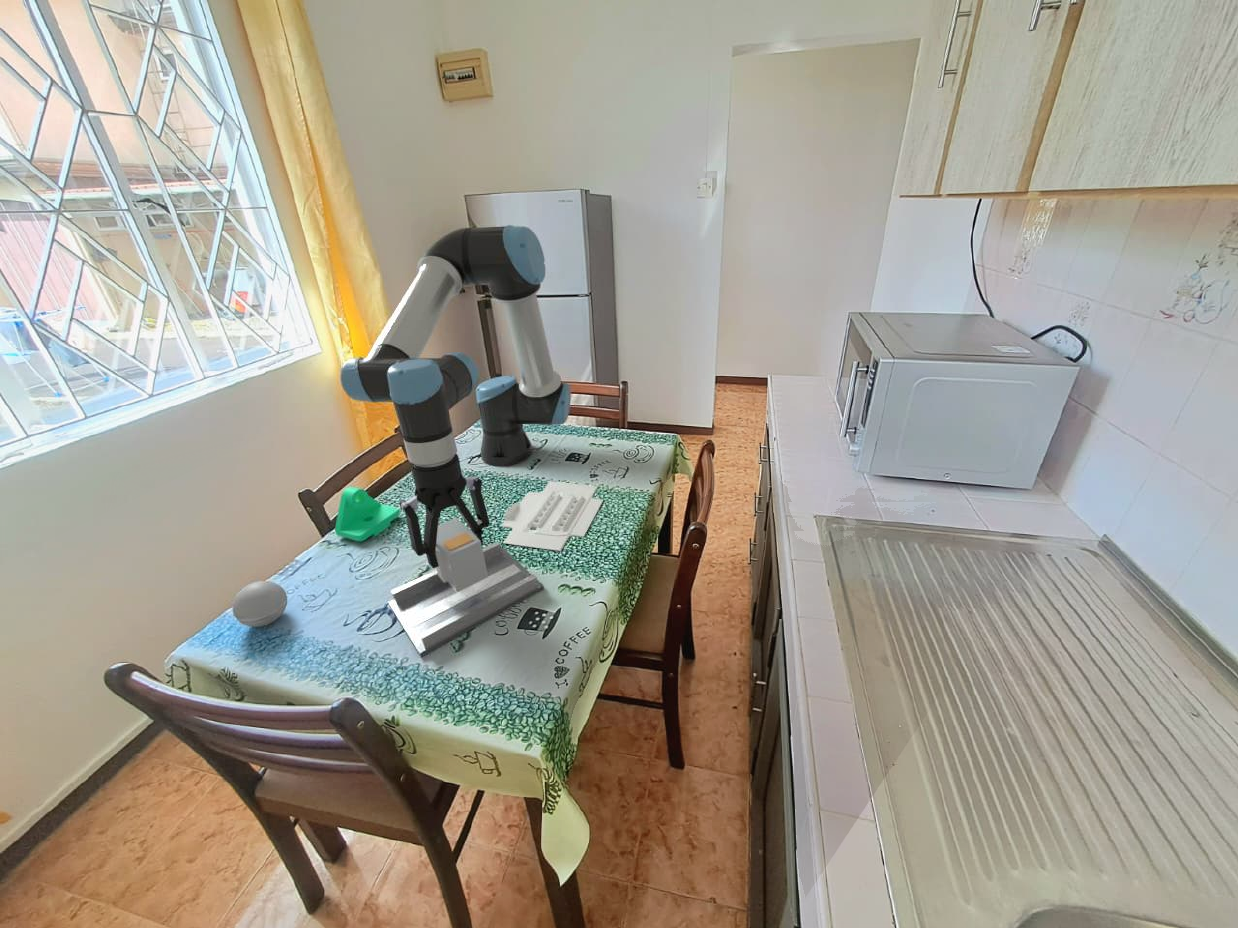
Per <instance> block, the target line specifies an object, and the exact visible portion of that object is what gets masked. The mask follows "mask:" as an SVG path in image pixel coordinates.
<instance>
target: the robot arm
mask: <svg viewBox="0 0 1238 928" xmlns="http://www.w3.org/2000/svg"><path fill="white" fill-rule="evenodd" d="M545 260H546V259H545V255H544V252H543V247H542V245H541V242H540V239H539V238H538V236H537V234H536V233H535V232H534V231H533V230H532V229H531V228H529V227H527V226H522V225H521V226H514V225H510V224H508V225H506V226H505V225H503V226H486V227H482V226H481V227H462V228H459V229H455V230H453V231H450V232H449V233H447V234H445V235H443V236H442V237H440V239H438V240H437V241H435V242H434V243H433V244H432V245H431V246H430V247H429V248H428V249H427V250H426V251H425V252H424V254H423V255H422V256H421V258H420V259H419V260H418V262H417V265H416V267H415V268H416V269H415V272H416V276H415V277H414V279H413V281H412V283H411V285H410V286H409V287H408V289H407V291H406V293H405V294H404V296H402V299H401V301H400V302H399V303H398V305H397V307H396V309H395V310H394V312H393V313H392V315H391V317H389V320H388V321H387V323H386V325H385V326H384V328H383V329H382V331H381V333H380V334H379V336H378V337H377V339H376V341H375V342H374V344H373V346H372V348H371V350H369V352H368V354H367V356H365V357H361V356H359V357H356V358H350V359H349V360H346V361H345V362H344V363H343V364H342V367H341V370H340V375H339V376H340V383H341V387H342V389H343V391H344V392H345V394H346V395H347V396H348V397H349V398H350V399H352V400H354V401H356V402H358V401H359V402H364V403H365V402H366V403H372V404H373V403H374V404H375V403H392V404H393V407H394V410H395V414H396V417H397V421H398V424H399V427H400V431H401V435H402V440H403V443H404V448H405V450H406V456H407V459H408V462H410V464H409V466H410V471H411V475H412V479H413V482H414V485H415V490H414V496H412V497H411V498H409V499H407V500H405V499H403V500H400V501H399V507H400V508H401V510H402V511H403V512H404V513H405V514H404V515H405V520H406V524H407V529H408V534H409V535H408V536H409V540H410V544H411V549H412V550H413V551H414V552H415V554H416V555H417V556H418V557H421V556H423V555H426V559H427V563H428V565H430V567H431V568H432V569H435V570H437V573H438V576H439V577H440V579H441V580H442V581H443V582H444V583H445V582H447V581H448V579H447V575H446V571H445V568H444V564H443V560H442V556H441V552H440V551H439V550H438V548H437V547H436V540H437V531H438V525H439V519H440V518H441V513H442V511H444V510H446V509H447V508H451V507H455V508H456V509H457V511H458V512H459V513H460V516H461V517H462V518H463V520H464V521H465V523H466V524H467V525H468V528H469V530H470V531H471V532H472V533H473V534H474V535H475V536H476V537H477V538H478V539H479V540H480V541H481V545H482V547H483V546H484V541H483V534H484V530H483V529H485V528H488V527H489V526H490V524H491V522H490V518H489V515H488V510H487V507H486V503H485V500H484V497H483V493H482V488H483V487H482V485H483V480H482V479H481V478H479V477H478V476H477V475H475V474H471V475H470V476H469V477H464V476H463V472H462V467H461V462H460V458H459V455H458V447H457V443H456V440H455V435H454V431H453V427H452V422H451V415H450V410H451V409H452V408H454V406H455V405H457V404H459V403H460V402H462V400H464V399H465V398H467V397H468V396H469V395H471V394H472V391H474V389H475V393H476V394H475V395H476V403H477V408H478V412H479V418H480V424H481V428H482V440H481V446H480V456H481V460H482V461H483V463H485V464H487V465H491V466H499V467H501V466H511V465H514V464H515V465H516V464H518V463H521V462H523V461H525V460H527V459H529V458H530V457H531V456H532V455H533V445H532V442H531V441H530V439H529V437H528V435H527V433H526V431H525V429H524V425H536V426H537V425H544V426H553V425H555V426H556V425H563V424H565V423H566V422H567V420H568V417H569V414H570V408H571V400H572V398H571V397H572V392H571V385H570V384H569V383H566V382H562V378H561V376H560V374H559V373H558V372H556V371H554V367H553V363H552V359H551V354H550V350H549V349H550V348H549V345H548V342H547V341H548V340H547V335H546V333H545V329H544V328H545V327H544V323H543V319H542V315H541V314H542V313H541V310H540V305H539V300H538V297H537V294H538V292H539V291H540V290H541V285H542V284H541V283H543V282H544V280H545V279H546V278H545V277H546V264H545ZM474 285H475V286H487V287H488V288H489V292H490V296H491V297H492V298H493V299H494V300H496V301H498V302H500V306H501V310H502V313H503V316H504V321H505V323H506V327H507V331H508V334H509V338H510V342H511V344H512V348H513V351H514V355H515V358H516V363H517V365H518V369H519V371H520V375H521V379H520V380H519V382H518V380H517V377H515V376H512V375H503V376H496V377H493V378H489V379H487V380H485V381H483V382H480V383H479V381H480V371H479V369H478V365H477V364H476V362H475V361H474V360H473V358H471V357H470V356H469V355H466V354H465V353H462V352H458V351H455V352H454V351H453V352H451V353H445V354H444V355H442V356H441V357H438V358H435V357H432V358H431V357H430V358H429V357H428V358H427V357H420V356H421V355H422V353H423V351H424V350H425V347H426V345H427V344H428V342H429V340H430V338H431V336H432V334H433V332H434V331H435V328H436V327H437V324H438V323H439V321H440V320H441V317H442V316H443V313H444V311H445V309H446V308H447V305H448V304H449V302H450V300H451V298H453V297H455V296H457V295H459V293H460V292H461V291H462V289H463V288H464V287H468V286H474ZM478 383H479V384H478ZM465 488H467V489H468V490H469V495H470V497H471V501H472V504H473V508H474V511H475V514H476V518H477V520H476V519H475V518H474V516H473V515H472V513H471V511H470V509H469V508H468V507H467V506H466V502H465V501H464V500H463V498H462V495H463V493H464V490H465ZM419 503H420V504H422V505H423V506H425V520H424V522H425V524H424V533H423V536H422V532H421V527H420V521H419V517H418V515H417V512H418V510H419V508H418V505H419ZM422 537H423V538H422Z"/></svg>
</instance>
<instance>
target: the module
mask: <svg viewBox="0 0 1238 928" xmlns="http://www.w3.org/2000/svg"><path fill="white" fill-rule="evenodd" d="M470 530H471V529H470V528H469V527H467V526H466V525H465V524H464V523H463V522H462V521H461V520H460V519H459V518H458V517H454V518H453V519H450V520H448V521H446V522H443V523H440V524H438V531H437V540H436V547H437V548H438V550H439V551H440V552H441V556H442V560H443V564H444V568H445V571H446V575H447V579H448V583H449V584H450V585H451V586H452V588H453V589H454V590H455V591H456V592H459V591H461V590H463V589H465V588H467V587H469V586H471V585H473V584H475V583H477V582H479V581H481V580H483V579H485V578H487V577H488V573H487V569H486V564H485V559H484V554H483V550H482V548H483V546H482V545H481V541H480V540H479V539H478V538H477V537H476V536H475V535H474V534H473V533H472V532H471V531H470Z"/></svg>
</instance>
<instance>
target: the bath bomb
mask: <svg viewBox="0 0 1238 928" xmlns="http://www.w3.org/2000/svg"><path fill="white" fill-rule="evenodd" d="M287 605H288V596H287V593H286V591H285V589H284V587H282V585H280V584H278V583H276V582H274V581H269V580H260V581H259V580H258V581H254V582H250V583H249V584H248V585H245V586H244V587H243V588H241V590H240V591H238V592H237V594H236V595H235V597H234V599H233V603H232V613H233V616H234V617H235V619H236V621H238V622H240V623H241V624H242V625H245V626H246V627H253V628H254V627H255V628H257V627H265V626H267V625H270V624H272V623H274V622H276V621H277V620H278V619H279V618H280V617H281V616H282V615H283V614H284V612H285V610H286V608H287Z"/></svg>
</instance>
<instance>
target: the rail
mask: <svg viewBox="0 0 1238 928" xmlns="http://www.w3.org/2000/svg"><path fill="white" fill-rule="evenodd" d="M482 550H483V554H484V559H485V564H486V569H487V573H488V577H487V578H485V579H483V580H481V581H479V582H477V583H475V584H473V585H471V586H469V587H467V588H465V589H463V590H461V591H459V592H456V591H455V590H454V589H453V588H452V586H451V585H450V584H449V583H448V581H447V582H445V583H444V582H443V581H442V580H441V579H440V577H439V576H438V573H437V570H436V569H435V570H433V571H430V572H429V573H427V574H424V575H421V576H420V577H418V578H416V579H414V580H411V581H410V582H408V583H404V584H403V585H401V586H399V587H396V588H394V589H392V590H390V591H391V595H392V597H393V599H392V600H390V601H388V605H389V607H390V608H391V611H392V612H393V614H394V616H395V617H396V619H397V620H398V622H399V624H400V626H401V627H402V629H403V630H404V632H405V633H406V636H407V637H408V638H409V641H410V642H411V644H412V645H413V647H414V649H415V650H416V652H417V653H418V655H419V657H420V658H423V657H425V656H427V655H428V654H430V653H432V652H434V651H436V650H437V649H438V650H439V648H441V647H443V646H445V645H446V644H448V643H450V642H451V641H453V640H455V639H457V638H459V637H461V636H463V635H464V634H466V633H468V632H470V631H471V630H474V629H475V628H477V627H479V626H481V625H482V624H484V623H486V622H488V621H490V620H492V619H493V618H495V617H497V616H499V615H500V614H502V613H504V612H506V611H507V610H509V609H511V608H513V607H515V606H517V605H519V604H520V603H522V602H524V601H525V600H527V599H529V598H530V597H533V596H534V595H536V594H538V593H540V592H541V591H543V590H544V589H545V588H544V584H543V583H542V582H540V581H539V579H537V578H538V577H537V576H536V575H535V574H533V573H531V572H530V571H528V569H526V568H525V567H524V566H523V565H522V564H521V563H520V562H519V561H518V560H517V559H516V558H514V557H513V556H512V555H511V554H510V553H509V552H508V551H507V550H506V549H505V548H504V547H502V546H501V542H499V541H495V542H494V543H491V544H489V545H487V546H484V547H482Z"/></svg>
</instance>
